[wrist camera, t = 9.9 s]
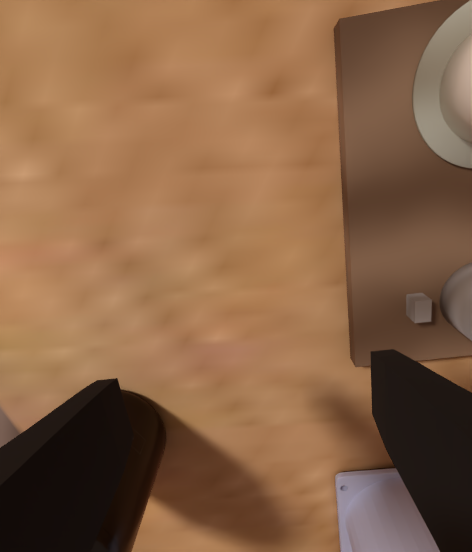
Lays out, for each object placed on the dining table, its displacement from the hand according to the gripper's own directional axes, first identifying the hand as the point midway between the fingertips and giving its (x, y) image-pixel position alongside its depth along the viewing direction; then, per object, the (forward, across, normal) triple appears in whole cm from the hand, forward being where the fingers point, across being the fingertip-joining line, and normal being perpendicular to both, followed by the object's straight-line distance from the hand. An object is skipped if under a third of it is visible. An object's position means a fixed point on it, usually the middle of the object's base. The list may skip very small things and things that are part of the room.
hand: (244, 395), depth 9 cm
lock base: (+10, -12, -3) cm, 16 cm away
